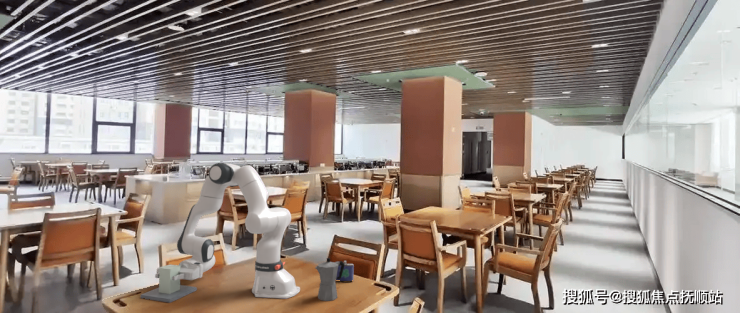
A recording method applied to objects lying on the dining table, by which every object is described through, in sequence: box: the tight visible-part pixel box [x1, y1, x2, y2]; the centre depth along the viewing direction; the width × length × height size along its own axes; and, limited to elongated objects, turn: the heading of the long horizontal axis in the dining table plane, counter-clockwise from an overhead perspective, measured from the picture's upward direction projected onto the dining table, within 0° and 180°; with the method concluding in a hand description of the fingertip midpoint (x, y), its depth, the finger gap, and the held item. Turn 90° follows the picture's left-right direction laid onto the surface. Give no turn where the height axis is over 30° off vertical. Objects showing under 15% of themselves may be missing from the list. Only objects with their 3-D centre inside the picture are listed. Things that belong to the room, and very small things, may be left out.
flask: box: [335, 260, 355, 281], centre depth 194 cm, size 9×3×11 cm, turn 88°
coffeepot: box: [314, 257, 345, 302], centre depth 172 cm, size 15×9×18 cm, turn 127°
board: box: [139, 284, 198, 304], centre depth 171 cm, size 16×16×6 cm
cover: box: [158, 264, 181, 294], centre depth 171 cm, size 6×6×11 cm
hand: (164, 277), depth 168 cm, fingers open, 8 cm apart
